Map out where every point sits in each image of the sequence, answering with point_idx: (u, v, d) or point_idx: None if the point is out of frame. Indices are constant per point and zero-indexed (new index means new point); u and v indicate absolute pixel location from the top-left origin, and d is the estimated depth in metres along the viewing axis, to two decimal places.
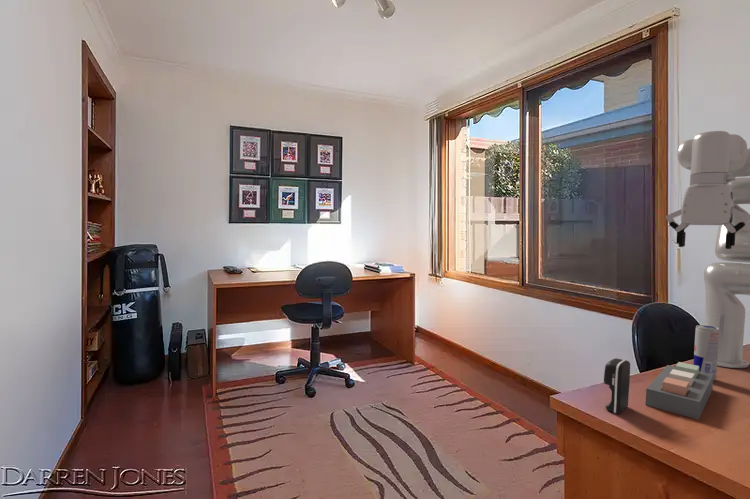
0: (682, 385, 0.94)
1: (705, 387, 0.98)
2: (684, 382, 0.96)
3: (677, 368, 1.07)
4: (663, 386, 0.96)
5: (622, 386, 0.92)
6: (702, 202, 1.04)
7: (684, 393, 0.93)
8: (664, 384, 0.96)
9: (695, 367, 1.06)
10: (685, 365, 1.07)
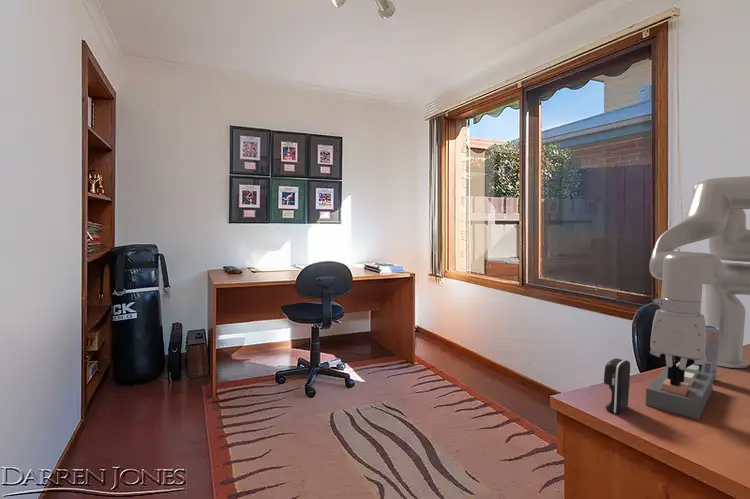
0: (682, 387, 0.94)
1: (705, 387, 0.98)
2: (684, 384, 0.96)
3: None
4: (663, 388, 0.96)
5: (622, 386, 0.92)
6: None
7: (684, 395, 0.93)
8: (664, 386, 0.96)
9: (695, 367, 1.06)
10: None
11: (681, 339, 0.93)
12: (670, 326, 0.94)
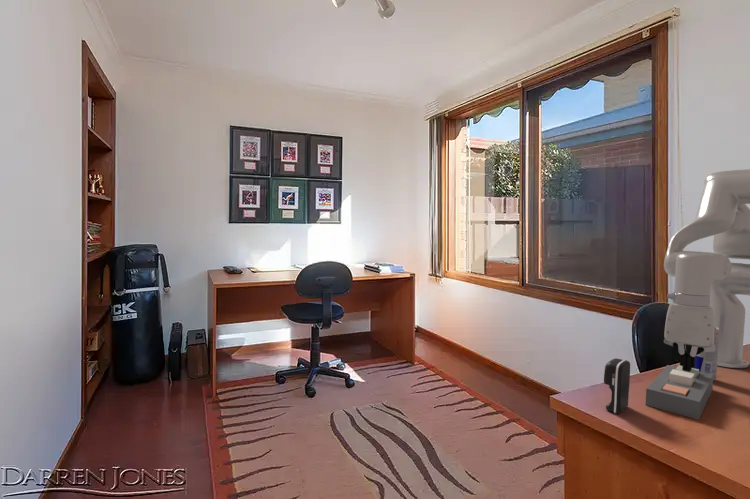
0: (682, 392, 0.94)
1: (705, 387, 0.98)
2: (683, 389, 0.96)
3: None
4: None
5: (622, 386, 0.92)
6: None
7: None
8: None
9: (695, 370, 1.06)
10: None
11: (692, 329, 1.04)
12: (682, 317, 1.05)
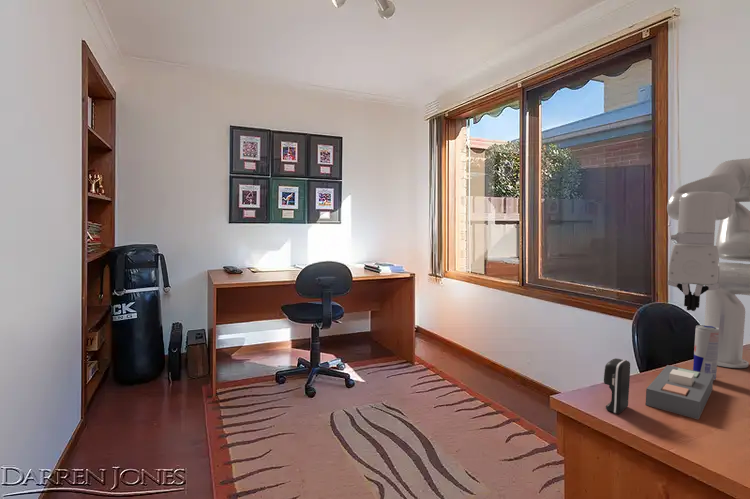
0: (682, 392, 0.94)
1: (705, 387, 0.98)
2: (683, 389, 0.96)
3: None
4: None
5: (622, 386, 0.92)
6: None
7: None
8: None
9: (695, 373, 1.07)
10: None
11: (697, 268, 1.03)
12: (686, 256, 1.04)
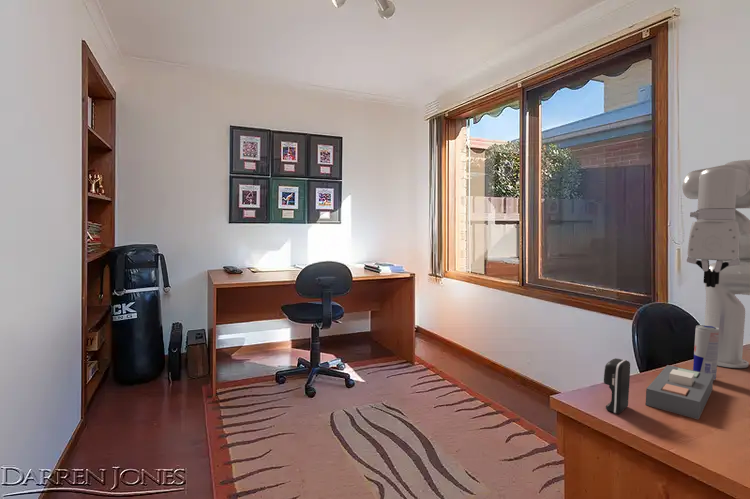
0: (682, 392, 0.94)
1: (705, 387, 0.98)
2: (683, 389, 0.96)
3: None
4: None
5: (622, 386, 0.92)
6: None
7: None
8: None
9: (695, 373, 1.07)
10: None
11: (717, 243, 1.03)
12: (706, 233, 1.05)
